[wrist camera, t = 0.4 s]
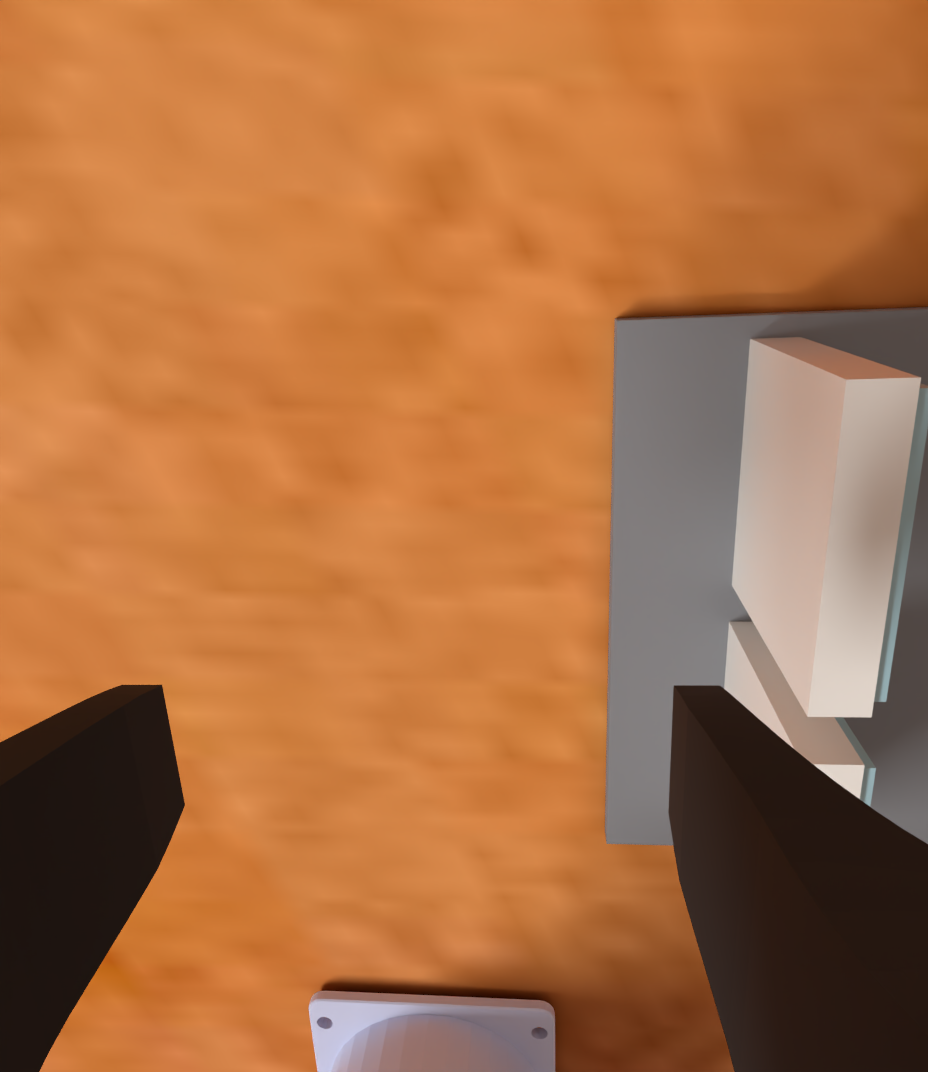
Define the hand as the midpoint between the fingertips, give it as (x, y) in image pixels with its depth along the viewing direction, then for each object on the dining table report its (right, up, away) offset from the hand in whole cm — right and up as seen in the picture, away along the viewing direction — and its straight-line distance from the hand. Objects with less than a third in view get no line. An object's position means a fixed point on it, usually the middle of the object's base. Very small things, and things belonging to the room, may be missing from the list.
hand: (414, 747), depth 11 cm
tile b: (+8, +5, +8) cm, 12 cm away
